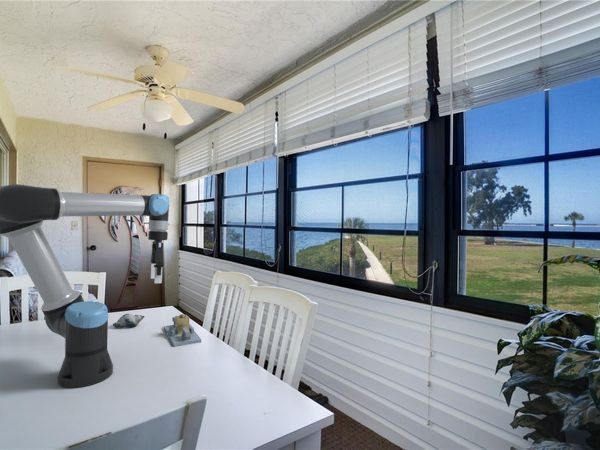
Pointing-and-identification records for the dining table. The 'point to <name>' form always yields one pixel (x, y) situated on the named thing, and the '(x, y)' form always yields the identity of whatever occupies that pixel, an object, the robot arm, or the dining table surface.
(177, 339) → the shaft bench
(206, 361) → the dining table surface
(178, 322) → the block
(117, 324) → the seashell
